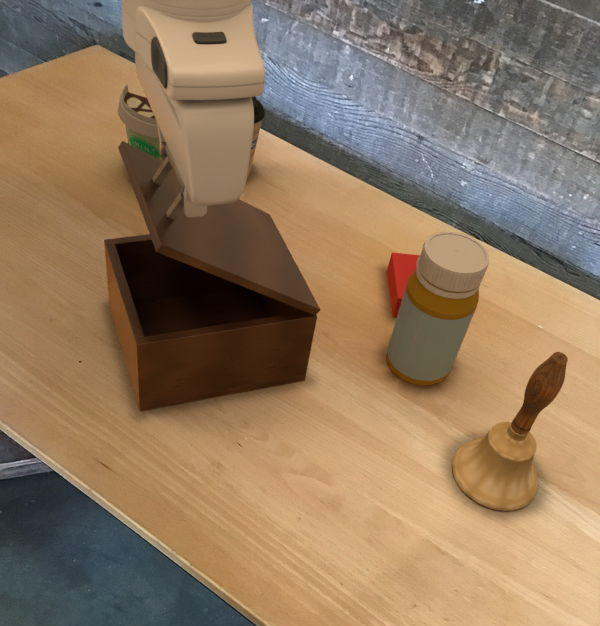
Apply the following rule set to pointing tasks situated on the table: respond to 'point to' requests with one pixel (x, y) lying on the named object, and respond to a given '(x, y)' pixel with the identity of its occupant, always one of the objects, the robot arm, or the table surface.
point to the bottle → (437, 308)
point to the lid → (215, 233)
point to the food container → (139, 123)
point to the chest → (198, 329)
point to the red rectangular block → (399, 277)
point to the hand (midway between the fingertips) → (182, 186)
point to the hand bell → (509, 447)
